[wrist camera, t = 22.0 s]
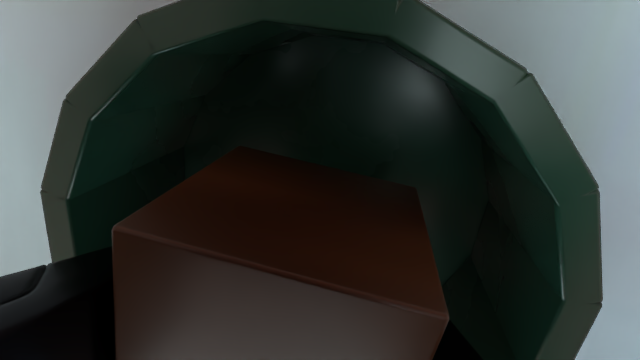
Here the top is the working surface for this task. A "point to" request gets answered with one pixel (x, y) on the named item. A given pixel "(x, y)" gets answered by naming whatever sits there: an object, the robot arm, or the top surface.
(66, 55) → the top surface
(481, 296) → the pot
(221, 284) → the block
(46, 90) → the top surface
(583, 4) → the top surface
